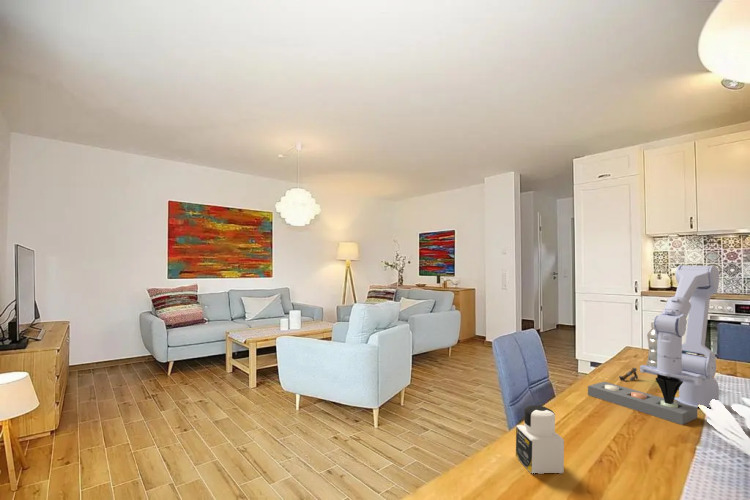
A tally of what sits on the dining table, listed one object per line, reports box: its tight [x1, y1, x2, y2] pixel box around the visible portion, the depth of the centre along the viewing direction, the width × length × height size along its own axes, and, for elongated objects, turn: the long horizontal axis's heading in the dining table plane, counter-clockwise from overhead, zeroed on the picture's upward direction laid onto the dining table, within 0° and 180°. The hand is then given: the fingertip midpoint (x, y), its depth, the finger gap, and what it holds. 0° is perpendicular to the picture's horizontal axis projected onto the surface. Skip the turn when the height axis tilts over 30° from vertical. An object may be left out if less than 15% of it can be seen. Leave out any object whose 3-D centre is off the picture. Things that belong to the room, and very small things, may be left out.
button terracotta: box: [631, 392, 647, 400], centre depth 118 cm, size 4×4×3 cm
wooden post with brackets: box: [619, 367, 639, 382], centre depth 145 cm, size 2×8×4 cm, turn 108°
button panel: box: [587, 381, 699, 426], centre depth 118 cm, size 26×10×3 cm, turn 31°
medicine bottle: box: [515, 405, 565, 475], centre depth 82 cm, size 7×7×12 cm
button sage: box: [661, 400, 678, 409], centre depth 112 cm, size 4×4×3 cm
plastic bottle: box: [646, 322, 657, 367], centre depth 157 cm, size 6×7×20 cm
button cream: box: [605, 385, 619, 392], centre depth 125 cm, size 4×4×3 cm
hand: (669, 403), depth 112 cm, fingers closed, pressing on button sage
